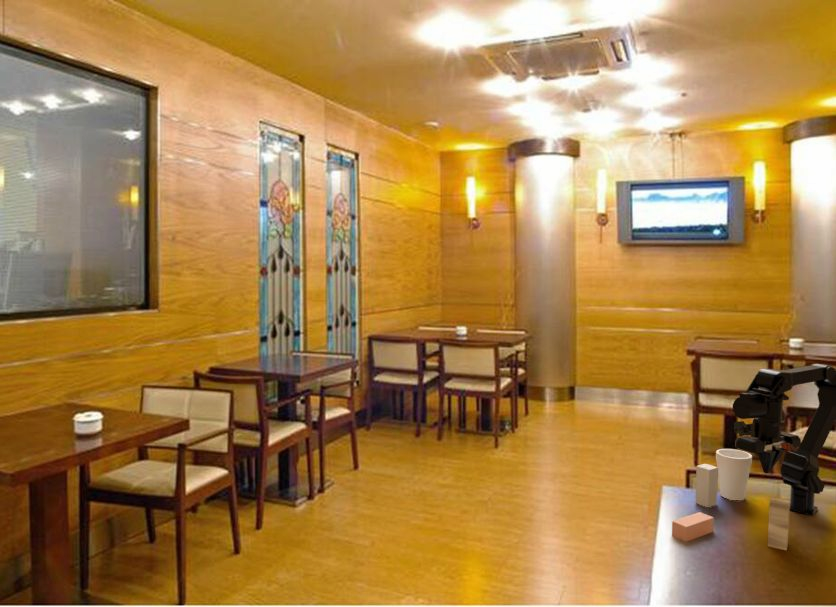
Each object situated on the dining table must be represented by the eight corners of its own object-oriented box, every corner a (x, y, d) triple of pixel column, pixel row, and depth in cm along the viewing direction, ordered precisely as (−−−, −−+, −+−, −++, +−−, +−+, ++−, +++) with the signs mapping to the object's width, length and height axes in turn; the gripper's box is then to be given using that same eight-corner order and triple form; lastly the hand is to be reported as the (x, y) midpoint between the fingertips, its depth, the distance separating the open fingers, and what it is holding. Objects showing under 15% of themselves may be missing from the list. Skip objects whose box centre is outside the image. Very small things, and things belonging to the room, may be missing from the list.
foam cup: (754, 504, 179) (756, 459, 178) (719, 501, 181) (721, 457, 180) (744, 492, 188) (745, 449, 187) (711, 489, 190) (712, 447, 189)
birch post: (769, 540, 156) (771, 497, 156) (787, 544, 154) (789, 500, 153) (767, 546, 153) (769, 502, 152) (786, 550, 151) (788, 506, 150)
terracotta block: (699, 512, 164) (672, 521, 159) (713, 517, 161) (686, 526, 155) (699, 526, 165) (671, 536, 159) (713, 532, 161) (685, 542, 156)
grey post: (704, 500, 182) (705, 463, 181) (716, 505, 178) (718, 467, 177) (695, 503, 180) (696, 465, 179) (708, 508, 176) (709, 469, 175)
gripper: (766, 407, 180) (762, 460, 181) (719, 412, 172) (716, 468, 174) (803, 416, 170) (800, 472, 171) (756, 422, 162) (752, 481, 163)
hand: (766, 473), depth 170 cm, fingers closed
